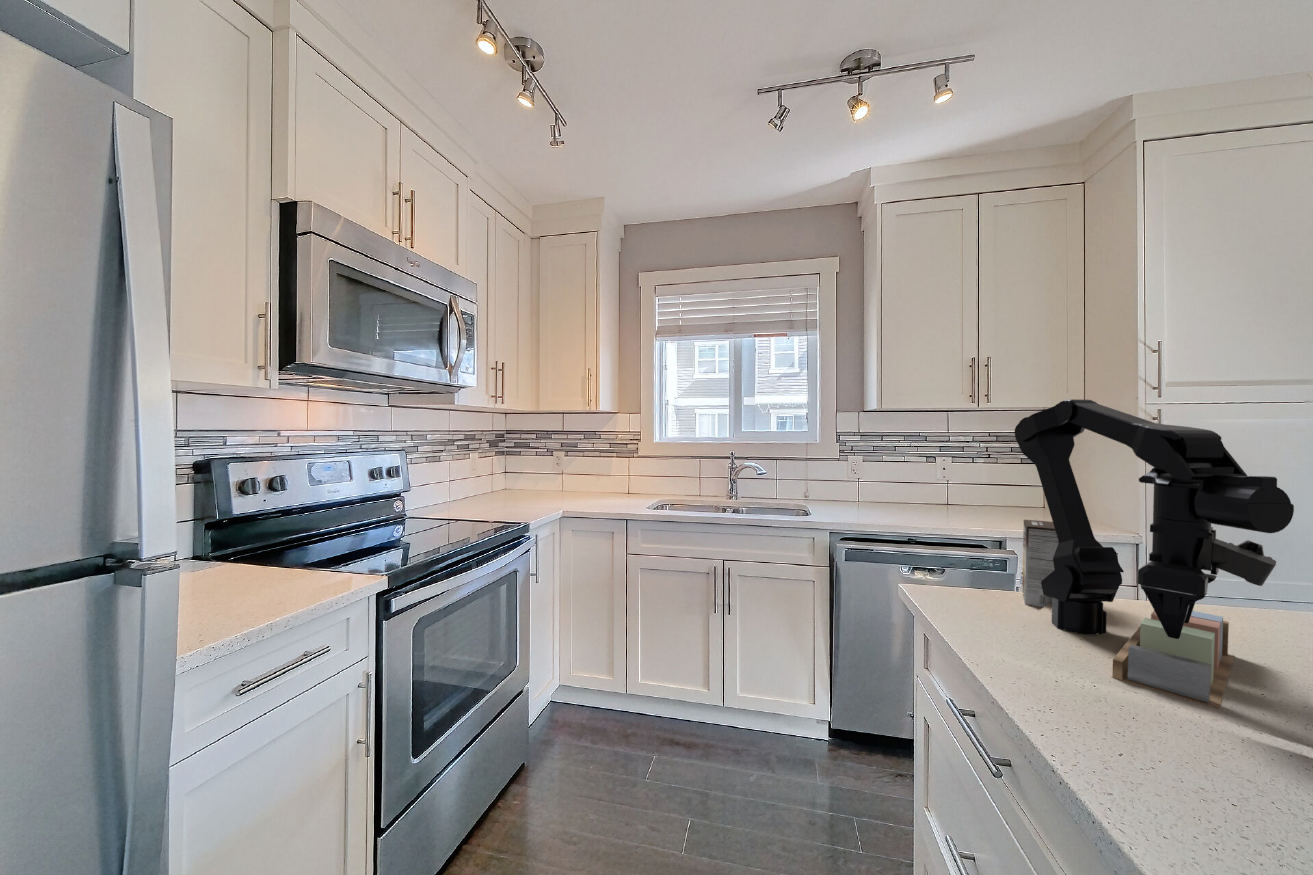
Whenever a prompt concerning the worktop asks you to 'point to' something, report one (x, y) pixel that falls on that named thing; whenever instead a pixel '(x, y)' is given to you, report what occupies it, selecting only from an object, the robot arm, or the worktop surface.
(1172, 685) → the bookend
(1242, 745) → the worktop surface
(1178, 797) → the worktop surface
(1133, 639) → the wooden book rack
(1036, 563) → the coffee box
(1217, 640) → the book brick
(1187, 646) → the green book
